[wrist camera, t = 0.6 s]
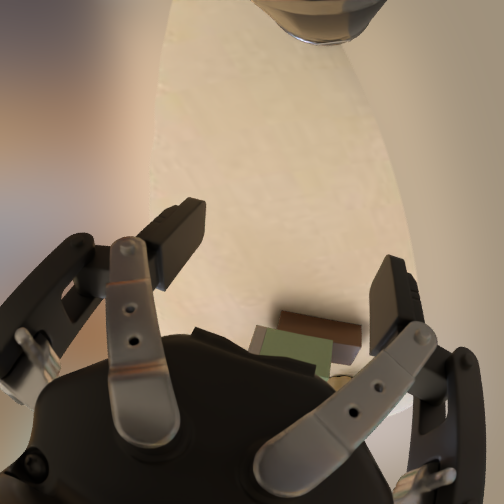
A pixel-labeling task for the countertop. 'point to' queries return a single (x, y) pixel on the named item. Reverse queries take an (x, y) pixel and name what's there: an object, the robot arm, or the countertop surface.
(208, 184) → the countertop surface
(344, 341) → the riser
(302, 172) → the countertop surface
